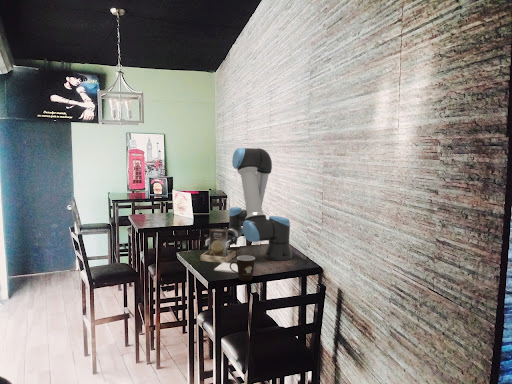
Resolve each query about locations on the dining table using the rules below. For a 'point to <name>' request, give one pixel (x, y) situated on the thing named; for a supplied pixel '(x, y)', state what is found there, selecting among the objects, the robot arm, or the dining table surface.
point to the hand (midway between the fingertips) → (215, 244)
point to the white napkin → (227, 267)
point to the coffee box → (218, 242)
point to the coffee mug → (245, 267)
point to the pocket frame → (226, 259)
